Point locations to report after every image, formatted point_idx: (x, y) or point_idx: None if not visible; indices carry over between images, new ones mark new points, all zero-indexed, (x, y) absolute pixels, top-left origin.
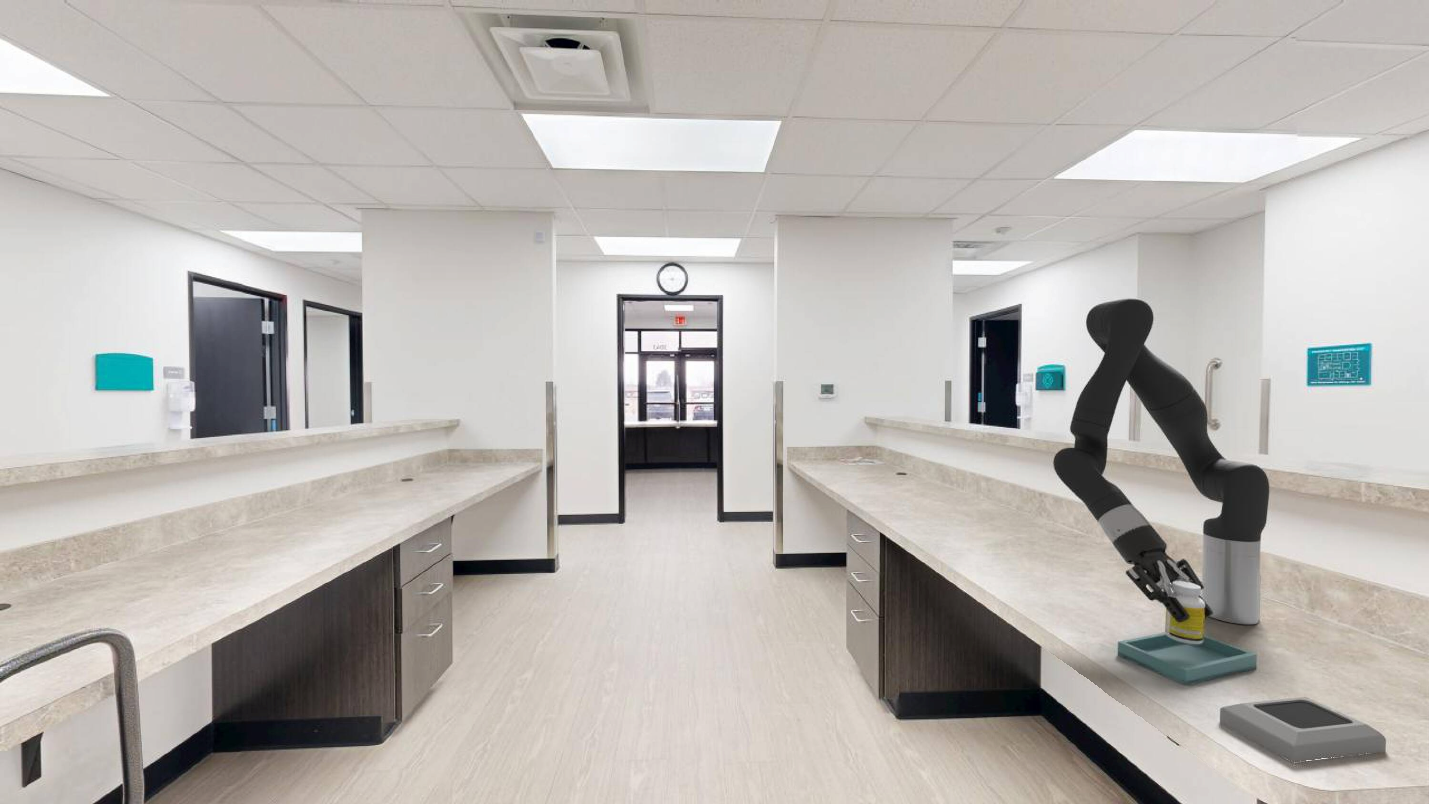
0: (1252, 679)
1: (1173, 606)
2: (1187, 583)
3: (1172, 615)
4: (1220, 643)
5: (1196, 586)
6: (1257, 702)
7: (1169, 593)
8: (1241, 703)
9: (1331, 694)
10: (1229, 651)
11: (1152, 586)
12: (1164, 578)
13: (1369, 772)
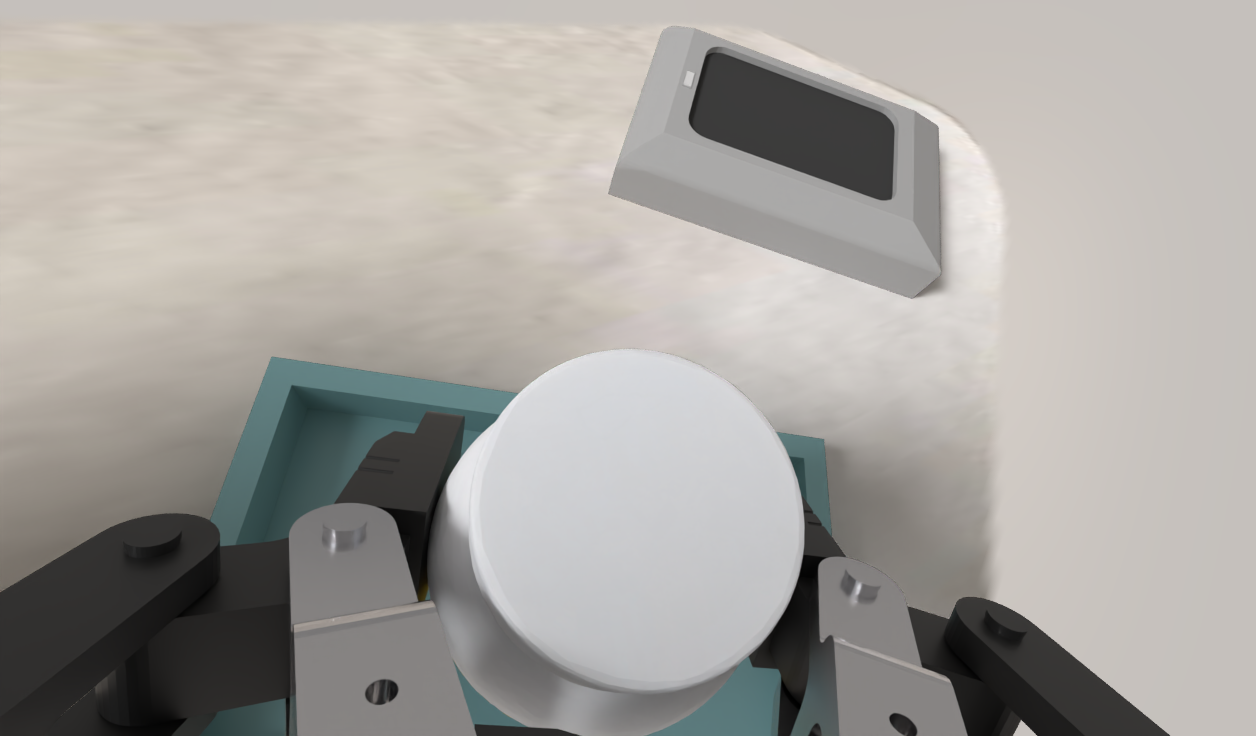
0: (463, 355)
1: (828, 536)
2: (571, 522)
3: None
4: (242, 532)
5: (595, 396)
6: (857, 199)
7: (877, 580)
8: (913, 221)
9: (339, 173)
10: (268, 488)
11: (1120, 700)
12: (931, 712)
13: None
